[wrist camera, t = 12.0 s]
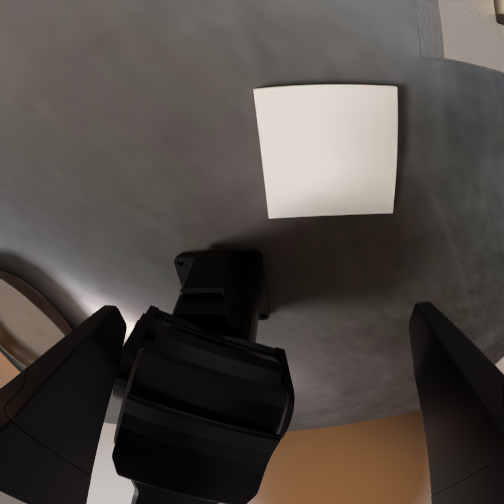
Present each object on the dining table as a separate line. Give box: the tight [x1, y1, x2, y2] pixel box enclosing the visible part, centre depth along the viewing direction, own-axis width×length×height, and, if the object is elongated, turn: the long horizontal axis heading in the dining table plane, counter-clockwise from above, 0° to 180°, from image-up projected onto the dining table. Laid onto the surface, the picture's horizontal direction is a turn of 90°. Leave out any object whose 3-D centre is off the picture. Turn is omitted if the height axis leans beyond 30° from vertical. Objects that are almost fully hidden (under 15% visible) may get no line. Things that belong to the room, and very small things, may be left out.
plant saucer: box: [0, 270, 72, 367], centre depth 30 cm, size 21×21×3 cm
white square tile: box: [253, 84, 398, 219], centre depth 17 cm, size 8×8×1 cm
